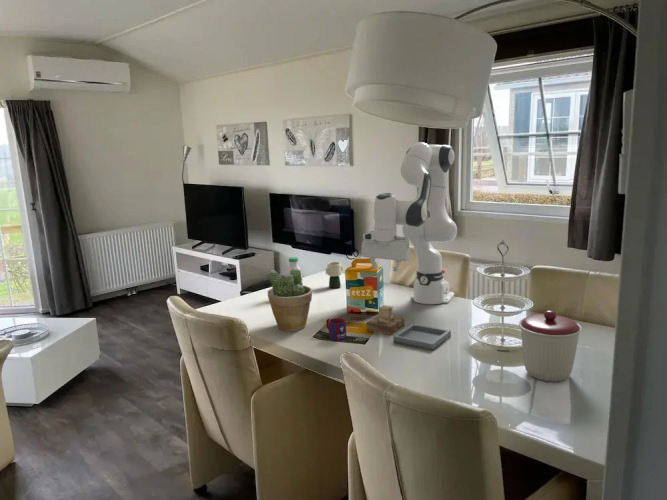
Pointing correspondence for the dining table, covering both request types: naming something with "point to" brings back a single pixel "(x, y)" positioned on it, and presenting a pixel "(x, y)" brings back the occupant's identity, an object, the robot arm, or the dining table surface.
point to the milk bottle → (293, 265)
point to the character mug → (334, 273)
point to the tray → (422, 336)
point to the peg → (385, 314)
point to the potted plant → (289, 300)
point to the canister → (549, 345)
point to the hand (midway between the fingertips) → (385, 269)
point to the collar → (386, 325)
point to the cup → (336, 328)
